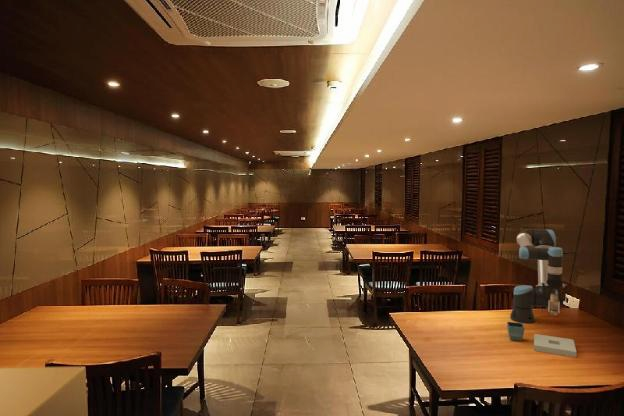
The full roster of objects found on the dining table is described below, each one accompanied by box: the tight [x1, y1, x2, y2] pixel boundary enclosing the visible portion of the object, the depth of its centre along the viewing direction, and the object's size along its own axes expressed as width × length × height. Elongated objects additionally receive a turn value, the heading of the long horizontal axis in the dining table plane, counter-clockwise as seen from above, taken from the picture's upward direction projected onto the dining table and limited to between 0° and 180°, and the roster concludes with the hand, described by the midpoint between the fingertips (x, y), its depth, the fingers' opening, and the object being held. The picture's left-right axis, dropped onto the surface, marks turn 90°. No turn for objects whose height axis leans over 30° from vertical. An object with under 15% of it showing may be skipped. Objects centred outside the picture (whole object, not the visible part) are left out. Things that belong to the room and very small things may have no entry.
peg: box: [549, 294, 559, 316], centre depth 248 cm, size 4×4×12 cm
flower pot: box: [506, 321, 526, 342], centre depth 248 cm, size 9×9×9 cm
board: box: [533, 333, 577, 358], centre depth 235 cm, size 20×20×3 cm
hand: (553, 311), depth 248 cm, fingers closed on peg, 4 cm apart
